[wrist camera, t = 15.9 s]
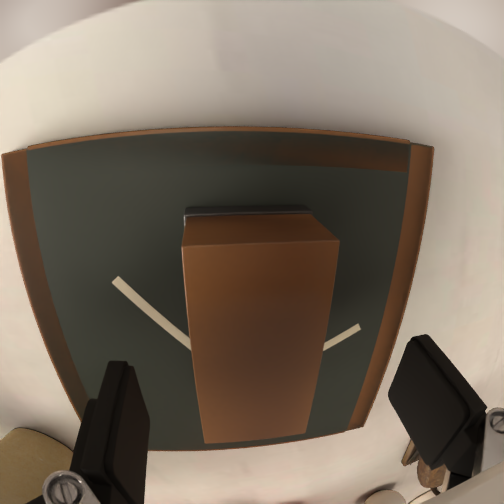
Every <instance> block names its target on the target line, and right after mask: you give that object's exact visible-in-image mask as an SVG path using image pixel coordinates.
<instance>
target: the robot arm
mask: <svg viewBox="0 0 504 504" xmlns="http://www.w3.org/2000/svg"><path fill="white" fill-rule="evenodd" d="M388 397H389V400H390V402H391V404H392V406H393V407H394V409H395V411H396V413H397V414H398V416H399V418H400V420H401V422H402V423H403V425H404V427H405V429H406V431H407V432H408V434H409V436H410V438H411V440H412V441H413V443H414V445H415V447H416V449H417V451H418V452H419V454H420V456H421V458H422V460H423V462H424V463H425V464H426V465H429V467H430V469H431V471H432V470H434V469H436V468H439V467H441V466H443V465H444V464H445V466H446V468H447V469H446V473H445V477H444V481H443V485H442V489H441V493H440V494H439V495H437V496H435V497H433V498H431V499H428V500H426V501H424V502H422V503H419V504H504V409H503V408H493V409H491V410H490V411H489V412H488V413H487V414H486V412H485V410H486V409H487V406H486V405H485V404H484V402H483V401H482V400H481V399H480V397H479V396H478V395H477V393H476V392H475V391H474V390H473V388H472V387H471V386H470V384H469V383H468V382H467V381H466V379H465V378H464V377H463V376H462V374H461V373H460V372H459V371H458V370H457V368H456V367H455V366H454V365H453V363H452V362H451V361H450V360H449V359H448V357H447V356H446V355H445V354H444V353H443V351H442V350H441V349H440V348H439V347H438V346H437V344H436V343H435V342H434V341H433V340H432V339H431V337H430V336H429V335H427V334H424V335H419V336H414V337H412V338H411V340H410V341H409V342H408V343H407V345H406V348H405V351H404V354H403V356H402V359H401V362H400V364H399V367H398V369H397V372H396V374H395V377H394V379H393V382H392V384H391V387H390V389H389V392H388ZM149 432H150V417H149V414H148V411H147V408H146V405H145V402H144V399H143V395H142V392H141V389H140V386H139V382H138V379H137V376H136V372H135V369H134V366H129V364H128V362H127V361H112V360H110V361H109V362H108V364H107V368H106V371H105V374H104V377H103V381H102V384H101V388H100V391H99V395H98V398H97V399H94V398H91V399H89V401H88V402H87V405H86V408H85V412H84V415H83V419H82V422H81V426H80V429H79V433H78V437H77V440H76V444H75V448H74V452H73V456H72V460H71V465H70V469H69V470H59V471H56V472H53V473H52V474H50V475H49V476H48V477H47V478H46V479H45V481H44V483H43V486H42V495H40V496H38V497H36V498H35V499H33V500H31V501H29V502H27V503H25V504H144V494H145V478H146V465H147V453H148V442H149Z"/></svg>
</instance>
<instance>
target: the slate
mask: <svg viewBox="0 0 504 504" xmlns="http://www.w3.org/2000/svg"><path fill="white" fill-rule="evenodd" d="M433 156H434V147H433V146H429V145H423V144H417V143H411V142H410V141H409V140H405V139H398V138H391V137H384V136H377V135H369V134H360V133H351V132H341V131H330V130H317V129H302V128H283V127H245V126H223V127H185V128H166V129H151V130H138V131H127V132H118V133H108V134H100V135H92V136H85V137H78V138H71V139H65V140H59V141H53V142H47V143H42V144H36V145H31V146H28V148H27V149H22V150H17V151H13V152H8V153H4V154H2V155H1V158H2V169H3V179H4V187H5V195H6V202H7V208H8V214H9V220H10V225H11V230H12V235H13V240H14V245H15V249H16V254H17V258H18V262H19V266H20V270H21V273H22V277H23V281H24V284H25V288H26V291H27V295H28V298H29V301H30V304H31V307H32V310H33V313H34V316H35V319H36V322H37V325H38V328H39V330H40V333H41V336H42V338H43V341H44V344H45V346H46V349H47V351H48V354H49V356H50V359H51V361H52V363H53V366H54V368H55V370H56V372H57V375H58V377H59V379H60V381H61V383H62V386H63V388H64V390H65V392H66V394H67V396H68V398H69V400H70V402H71V404H72V406H73V408H74V410H75V412H76V414H77V415H78V417H79V419H80V421H81V422H82V419H83V415H84V412H85V408H86V405H87V402H88V401H89V399H91V398H94V399H97V398H98V395H99V391H100V388H101V384H102V381H103V377H104V374H105V371H106V368H107V364H108V362H109V361H110V360H112V361H127V362H128V364H129V366H134V369H135V372H136V376H137V379H138V382H139V386H140V389H141V392H142V395H143V399H144V402H145V405H146V408H147V411H148V414H149V417H150V432H149V442H148V451H207V450H225V449H239V448H249V447H259V446H267V445H275V444H283V443H289V442H296V441H302V440H308V439H313V438H318V437H324V436H328V435H333V434H338V433H342V432H345V431H348V430H352V429H356V428H360V427H363V426H364V424H365V422H366V420H367V417H368V415H369V413H370V410H371V408H372V405H373V403H374V400H375V398H376V395H377V393H378V390H379V388H380V385H381V382H382V380H383V377H384V374H385V371H386V369H387V366H388V363H389V360H390V357H391V354H392V351H393V348H394V345H395V342H396V339H397V336H398V332H399V329H400V326H401V322H402V319H403V315H404V312H405V308H406V305H407V301H408V297H409V293H410V289H411V285H412V281H413V277H414V273H415V269H416V264H417V260H418V255H419V250H420V245H421V240H422V235H423V229H424V224H425V218H426V212H427V205H428V199H429V191H430V184H431V176H432V167H433ZM275 205H305V206H307V207H308V208H309V209H310V210H312V212H313V217H314V218H315V219H317V220H318V221H319V222H320V223H321V224H322V225H323V226H324V227H325V228H326V229H328V230H329V231H330V232H331V233H332V234H333V235H334V236H335V237H336V238H337V239H338V240H339V241H340V243H339V251H338V259H337V267H336V274H335V281H334V288H333V295H332V301H331V308H330V314H329V320H328V326H327V332H326V337H325V343H324V348H323V354H322V359H321V364H320V369H319V374H318V379H317V384H316V388H315V393H314V398H313V402H312V407H311V411H310V415H309V420H308V424H307V428H306V432H305V433H303V434H296V435H290V436H283V437H276V438H268V439H259V440H250V441H239V442H226V443H208V444H206V443H205V441H204V436H203V430H202V424H201V417H200V411H199V405H198V398H197V391H196V384H195V377H194V369H193V361H192V353H191V345H190V337H189V328H188V318H187V309H186V298H185V287H184V276H183V263H182V249H181V246H182V240H183V234H184V211H185V208H195V207H225V206H275Z"/></svg>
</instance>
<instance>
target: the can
mask: <svg viewBox="0 0 504 504" xmlns="http://www.w3.org/2000/svg"><path fill="white" fill-rule="evenodd" d="M435 496H436V495H435V494H434V493H433V492H432V490H430V491H428V492H426V493H424V494H422V495H421V496H419V497H417V498H416V499H414V500H413V501H412V502H410V503H409V504H419V503H422V502H424V501H426V500H428V499H431V498H433V497H435Z"/></svg>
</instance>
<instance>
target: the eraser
mask: <svg viewBox="0 0 504 504" xmlns="http://www.w3.org/2000/svg"><path fill="white" fill-rule="evenodd" d="M339 243H340V241H339V240H338V239H337V238H336V237H335V236H334V235H333V234H332V233H331V232H330V231H329V230H328V229H326V228H325V227H324V226H323V225H322V224H321V223H320V222H319V221H318V220H317V219H315V218H314V217H313V212H312V210H310V209H309V208H308V207H307V206H305V205H275V206H225V207H195V208H185V211H184V234H183V240H182V246H181V249H182V263H183V276H184V287H185V298H186V309H187V318H188V328H189V337H190V345H191V353H192V361H193V369H194V377H195V384H196V391H197V398H198V405H199V411H200V417H201V424H202V430H203V436H204V441H205V443H206V444H208V443H226V442H239V441H250V440H259V439H268V438H276V437H283V436H290V435H296V434H303V433H305V432H306V428H307V424H308V420H309V415H310V411H311V407H312V402H313V398H314V393H315V388H316V384H317V379H318V374H319V369H320V364H321V359H322V354H323V348H324V343H325V337H326V332H327V326H328V320H329V314H330V308H331V301H332V295H333V288H334V281H335V274H336V267H337V259H338V251H339Z"/></svg>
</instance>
